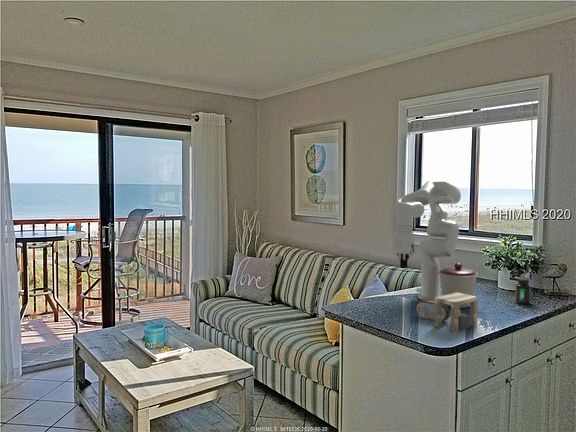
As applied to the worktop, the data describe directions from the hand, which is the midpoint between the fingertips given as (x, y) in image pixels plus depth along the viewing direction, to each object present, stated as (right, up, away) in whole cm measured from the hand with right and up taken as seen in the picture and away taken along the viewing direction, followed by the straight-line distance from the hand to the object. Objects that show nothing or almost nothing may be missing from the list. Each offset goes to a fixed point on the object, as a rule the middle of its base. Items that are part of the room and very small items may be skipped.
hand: (403, 267), depth 211 cm
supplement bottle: (+63, -19, +13) cm, 67 cm away
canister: (+29, -20, +11) cm, 37 cm away
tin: (+10, -22, -11) cm, 27 cm away
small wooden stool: (+16, -22, -21) cm, 35 cm away
